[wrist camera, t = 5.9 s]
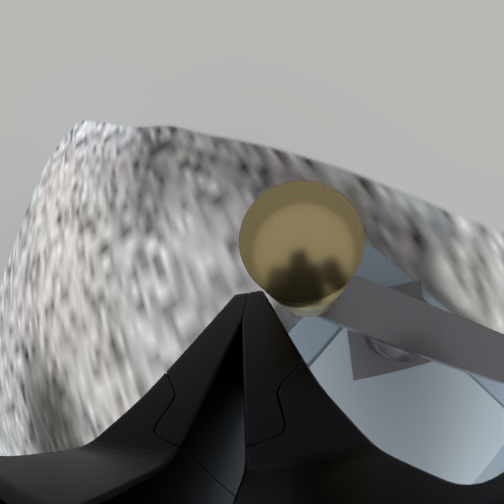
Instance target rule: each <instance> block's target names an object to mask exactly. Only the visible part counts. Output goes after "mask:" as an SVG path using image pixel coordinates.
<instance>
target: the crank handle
mask: <svg viewBox="0 0 504 504" xmlns="http://www.w3.org/2000/svg"><path fill="white" fill-rule="evenodd" d="M239 248H240V255H241V258H242V261H243V264H244V266H245V268H246V270H247V272H248V273H249V275H250V276H251V278H252V279H253V280H254V281H255V282H256V283H257V284H258V285H259V286H260V287H261V288H262V289H263V290H265V291H266V292H267V293H268V294H269V295H270V296H271V297H272V298H274V299H275V300H276V301H277V302H278V303H279V304H280V305H281V306H283V307H284V308H285V309H286V310H287V311H289V312H290V313H292V314H294V315H297V316H300V317H317V318H320V319H322V320H325V321H327V322H330V323H332V324H335V325H337V326H340V327H343V328H345V329H348V330H350V331H353V332H355V333H358V334H361V335H363V336H365V340H366V343H367V345H368V347H369V348H370V349H371V350H372V351H373V352H374V353H375V354H377V355H379V356H381V357H384V358H387V359H391V360H394V361H397V362H403V363H408V362H413V361H416V360H418V359H420V358H421V357H422V358H425V359H428V360H431V361H433V362H436V363H439V364H442V365H445V366H448V367H451V368H453V369H456V370H459V371H462V372H465V373H468V374H471V375H474V376H477V377H480V378H483V379H486V380H489V381H492V382H496V383H501V384H504V334H501V333H499V332H496V331H494V330H492V329H489V328H487V327H484V326H482V325H479V324H477V323H475V322H472V321H470V320H467V319H465V318H462V317H460V316H458V315H455V314H453V313H450V312H448V311H445V310H443V309H440V308H438V307H435V306H433V305H430V304H429V303H428V302H427V301H426V300H424V299H423V298H421V297H418V296H415V295H405V294H403V293H400V292H398V291H395V290H393V289H390V288H388V287H385V286H383V285H380V284H377V283H375V282H372V281H370V280H367V279H365V278H362V277H360V276H357V275H354V274H355V272H356V271H357V269H358V268H359V265H360V263H361V261H362V257H363V254H364V248H365V233H364V227H363V224H362V220H361V218H360V216H359V213H358V212H357V210H356V209H355V207H354V206H353V204H352V203H351V202H350V201H349V200H348V199H347V198H346V197H345V196H344V195H343V194H342V193H340V192H339V191H337V190H336V189H334V188H332V187H330V186H328V185H325V184H322V183H319V182H314V181H291V182H287V183H283V184H280V185H278V186H276V187H273V188H271V189H270V190H268V191H267V192H265V193H264V194H262V195H261V196H260V197H259V198H258V199H257V200H256V201H255V202H254V203H253V204H252V206H251V207H250V208H249V210H248V211H247V213H246V215H245V217H244V220H243V222H242V225H241V229H240V235H239Z"/></svg>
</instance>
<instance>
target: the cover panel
mask: <svg viewBox="0 0 504 504" xmlns="http://www.w3.org/2000/svg"><path fill="white" fill-rule="evenodd" d="M354 275H357V276H360V277H362V278H365V279H367V280H370V281H372V282H375V283H377V284H380V285H383V286H385V287H388V288H390V289H393V290H395V291H398V292H400V293H403V294H405V295H415V296H418V297H421V298H423V299H424V300H426V301H427V302H428V303H429V304H430V305H433V306H435V307H438V308H440V309H443V310H445V311H448V312H450V311H449V310H448V309H447V308H446V307H444V306H443V305H442V304H441V303H440V302H439V301H438V300H437V299H435V298H434V297H433V296H432V295H431V294H430V293H429V292H427V291H426V290H425V289H424V288H423V287H422V286H421V282H420V280H419V281H415V280H413V279H412V278H411V277H410V276H409V275H407V274H406V273H405V272H404V271H403V270H401V269H400V268H399V267H398V266H397V265H395V264H394V263H393V262H392V261H390V260H389V259H388V258H387V257H385V256H384V255H383V254H382V253H380V252H379V251H378V250H377V249H375V248H374V247H373V246H372V245H370V244H369V243H368V242H367V241H365V248H364V254H363V257H362V261H361V263H360V265H359V268H358V269H357V271H356V272H355V274H354ZM450 313H451V312H450ZM288 334H289V336H290V337H291V339H292V341H293V342H294V344H295V346H296V347H297V349H298V351H299V352H300V354H301V356H302V357H303V359H304V361H305V362H306V364H307V365H308V367H309V369H310V370H311V372H312V373H313V375H314V376H315V378H316V379H317V381H318V382H319V384H320V385H321V386H322V388H323V389H324V390H325V391H326V392H327V394H328V395H329V396H330V397H331V399H332V400H333V401H334V402H335V403H336V404H337V405H338V407H339V408H340V409H341V410H342V411H343V412H344V413H345V414H346V415H347V416H348V418H349V419H350V420H351V421H352V422H353V423H354V424H355V425H356V426H357V427H358V429H359V430H360V431H361V432H362V433H363V434H364V435H365V436H366V437H367V438H368V439H369V440H370V441H371V442H372V443H373V444H375V445H376V446H377V447H378V448H380V449H381V450H382V451H384V452H386V453H387V454H389V455H391V456H393V457H395V458H397V459H400V460H402V461H404V462H406V463H408V464H410V465H412V466H414V467H417V468H419V469H421V470H423V471H426V472H428V473H430V474H432V475H435V476H437V477H440V478H442V479H444V480H447V481H450V482H453V483H457V484H468V485H471V484H477V483H482V482H485V481H488V480H490V479H492V478H494V477H496V476H498V475H499V474H500V473H501V471H502V470H503V469H504V384H501V383H496V382H492V381H489V380H486V379H483V378H480V377H477V376H474V375H471V374H468V373H465V372H462V371H459V370H456V369H453V368H451V367H448V366H445V365H442V364H439V363H436V362H433V361H431V360H428V359H425V358H422V357H421V358H420V359H418V360H416V361H413V362H408V363H403V362H397V361H394V360H391V359H387V358H384V357H381V356H379V355H377V354H375V353H374V352H373V351H372V350H371V349H370V348H369V347H368V345H367V343H366V340H365V336H363V335H361V334H358V333H355V332H353V331H350V330H348V329H345V328H343V327H340V326H337V325H335V324H332V323H330V322H327V321H325V320H322V319H320V318H317V317H302V318H301V319H300V321H299V322H298V323H297V324H296V325H295V326H294V327H293V329H292V330H291V331H290V332H289V333H288Z"/></svg>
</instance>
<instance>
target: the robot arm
mask: <svg viewBox="0 0 504 504" xmlns="http://www.w3.org/2000/svg"><path fill="white" fill-rule="evenodd" d="M0 504H504V472H503V473H501V474H500V475H498V476H496V477H494V478H492V479H490V480H488V481H485V482H482V483H477V484H471V485H468V484H457V483H453V482H450V481H447V480H444V479H442V478H440V477H437V476H435V475H432V474H430V473H428V472H426V471H423V470H421V469H419V468H417V467H414V466H412V465H410V464H408V463H406V462H404V461H402V460H400V459H397V458H395V457H393V456H391V455H389V454H387V453H386V452H384V451H382V450H381V449H380V448H378V447H377V446H376V445H375V444H373V443H372V442H371V441H370V440H369V439H368V438H367V437H366V436H365V435H364V434H363V433H362V432H361V431H360V430H359V429H358V427H357V426H356V425H355V424H354V423H353V422H352V421H351V420H350V419H349V418H348V416H347V415H346V414H345V413H344V412H343V411H342V410H341V409H340V408H339V407H338V405H337V404H336V403H335V402H334V401H333V400H332V399H331V397H330V396H329V395H328V394H327V392H326V391H325V390H324V389H323V388H322V386H321V385H320V384H319V382H318V381H317V379H316V378H315V376H314V375H313V373H312V372H311V370H310V369H309V367H308V365H307V364H306V362H305V361H304V359H303V357H302V356H301V354H300V352H299V351H298V349H297V347H296V346H295V344H294V342H293V341H292V339H291V337H290V336H289V334H288V332H287V331H286V329H285V327H284V326H283V324H282V322H281V321H280V319H279V317H278V316H277V314H276V312H275V311H274V309H273V307H272V306H271V304H270V302H269V301H268V299H267V297H266V296H265V294H264V292H263V291H257V292H251V293H245V294H238V295H235V296H234V297H233V298H232V299H231V300H230V301H229V303H228V304H227V305H226V306H225V307H224V308H223V309H222V310H221V312H220V313H219V314H218V315H217V316H216V317H215V318H214V319H213V321H212V322H211V323H210V324H209V325H208V326H207V327H206V328H205V330H204V331H203V332H202V333H201V334H200V335H199V336H198V337H197V339H196V340H195V341H194V342H193V343H192V344H191V345H190V346H189V347H188V349H187V350H186V351H185V352H184V353H183V354H182V355H181V356H180V357H179V359H178V360H177V361H176V362H175V363H174V364H173V365H172V366H171V367H170V369H169V370H168V371H167V374H166V373H165V374H164V375H163V376H162V377H161V378H160V379H159V380H158V382H157V383H156V384H155V385H154V386H153V387H152V388H151V389H150V390H149V391H148V392H147V393H146V394H145V395H144V396H143V397H142V398H141V399H140V400H139V401H138V402H137V403H136V404H135V405H134V406H132V407H131V408H130V409H129V410H128V411H127V412H126V413H125V414H124V415H122V416H121V417H120V418H119V419H118V420H117V421H116V422H114V423H113V424H112V425H111V426H110V427H109V428H108V429H106V430H105V431H104V432H103V433H102V434H101V435H99V436H98V437H97V438H96V439H94V440H93V441H91V442H90V443H88V444H86V445H84V446H82V447H79V448H76V449H71V450H64V451H57V452H50V453H42V454H32V455H21V456H0Z"/></svg>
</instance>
